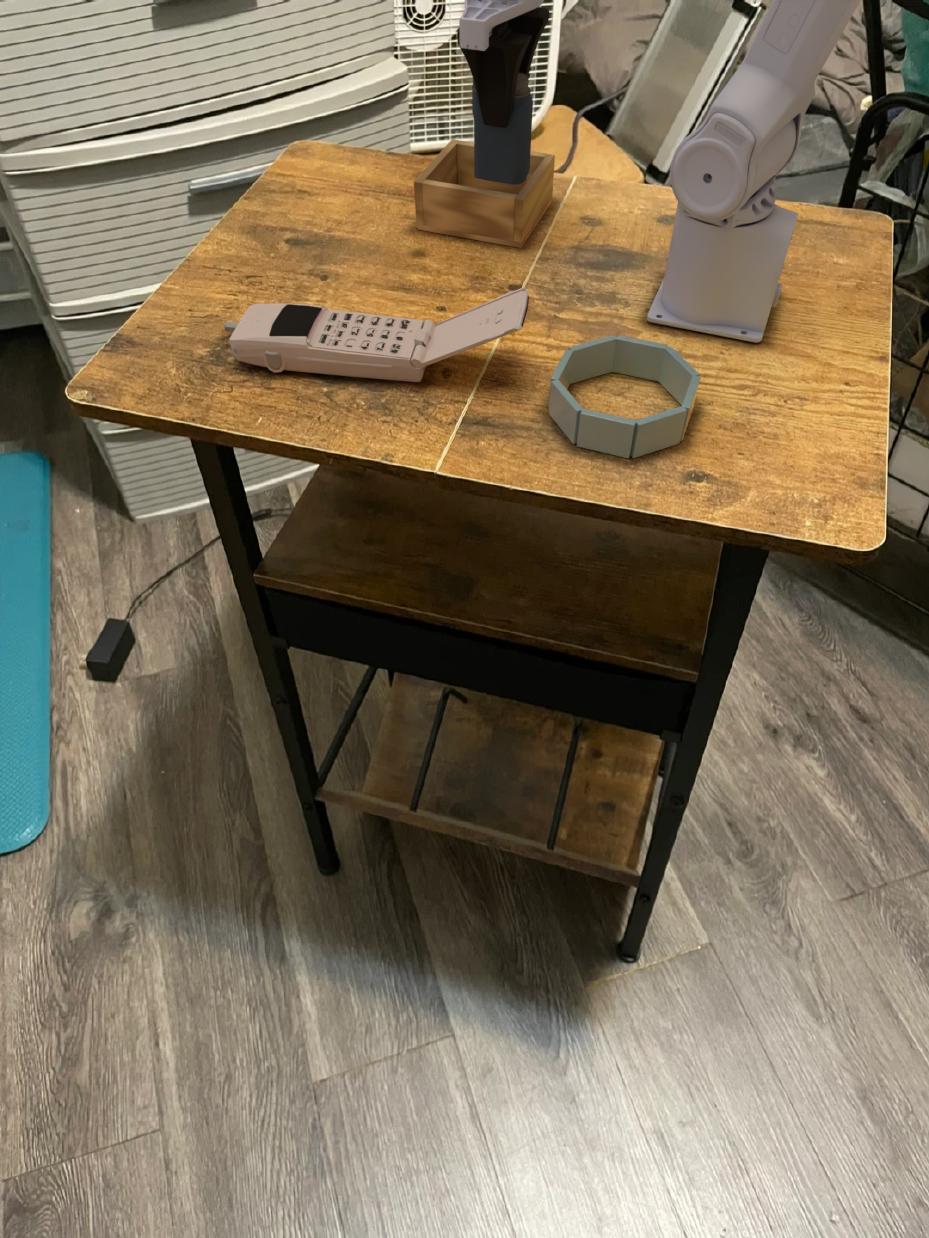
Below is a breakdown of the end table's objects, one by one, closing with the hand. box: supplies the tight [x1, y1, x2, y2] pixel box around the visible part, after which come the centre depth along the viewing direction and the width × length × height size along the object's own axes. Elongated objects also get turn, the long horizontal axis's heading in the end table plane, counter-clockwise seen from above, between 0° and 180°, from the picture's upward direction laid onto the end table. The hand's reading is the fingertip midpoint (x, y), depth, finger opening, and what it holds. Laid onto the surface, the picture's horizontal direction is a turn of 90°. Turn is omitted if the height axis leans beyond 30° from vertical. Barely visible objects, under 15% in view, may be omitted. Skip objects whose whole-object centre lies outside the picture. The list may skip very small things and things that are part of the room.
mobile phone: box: [224, 287, 530, 383], centre depth 67 cm, size 6×6×25 cm
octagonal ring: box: [547, 334, 701, 459], centre depth 64 cm, size 10×10×3 cm
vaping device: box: [470, 73, 534, 185], centre depth 72 cm, size 3×5×12 cm, turn 69°
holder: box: [413, 138, 556, 249], centre depth 82 cm, size 11×10×4 cm
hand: (502, 117), depth 73 cm, fingers closed on vaping device, 2 cm apart
